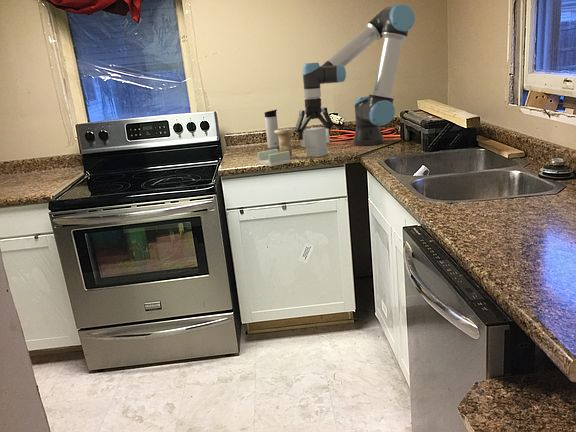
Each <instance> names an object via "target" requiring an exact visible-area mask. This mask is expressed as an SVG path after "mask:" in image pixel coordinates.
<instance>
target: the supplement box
mask: <svg viewBox="0 0 576 432" xmlns="http://www.w3.org/2000/svg"><path fill="white" fill-rule="evenodd" d="M303 132H304V134H305V151H306V152H305V153H306V157H311V156H312V158H319V157H322V156H323V157H324V156H326V155H328V143H327V141H326V127H310V128H307V129H306V128H305V129H304V131H303Z"/></svg>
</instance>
